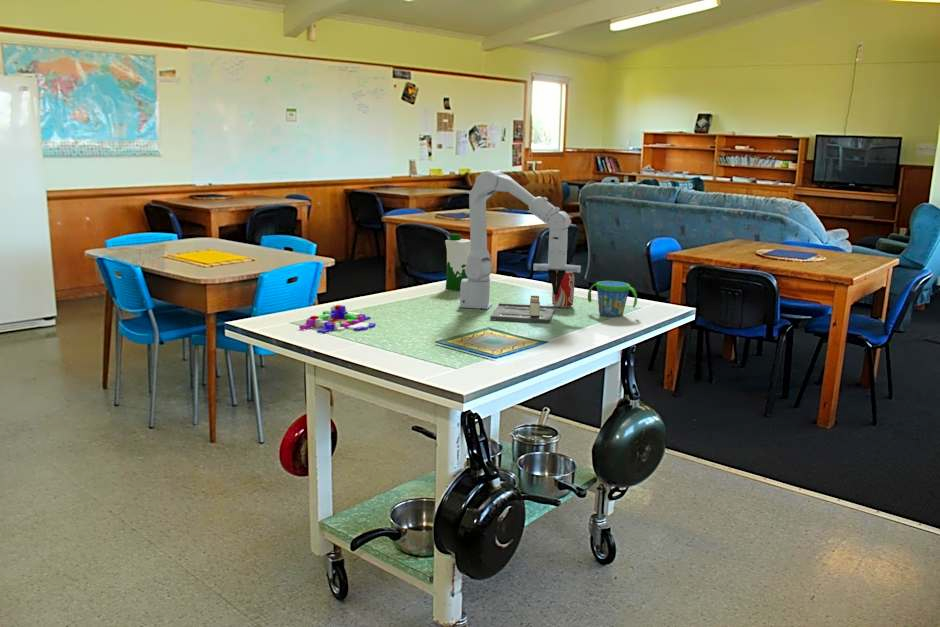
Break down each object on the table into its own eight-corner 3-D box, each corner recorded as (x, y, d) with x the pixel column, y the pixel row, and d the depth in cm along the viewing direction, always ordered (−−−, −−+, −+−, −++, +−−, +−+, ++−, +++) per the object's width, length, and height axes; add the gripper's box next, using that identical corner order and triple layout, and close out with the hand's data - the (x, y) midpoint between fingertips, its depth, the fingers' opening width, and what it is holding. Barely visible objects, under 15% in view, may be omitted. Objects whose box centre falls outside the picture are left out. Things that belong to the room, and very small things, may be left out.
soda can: (566, 309, 259) (568, 273, 257) (547, 306, 263) (549, 270, 261) (577, 306, 265) (578, 270, 262) (558, 303, 269) (560, 268, 266)
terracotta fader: (529, 309, 250) (530, 296, 249) (531, 306, 254) (531, 294, 253) (537, 309, 249) (538, 297, 248) (538, 307, 253) (539, 294, 252)
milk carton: (455, 286, 297) (456, 232, 293) (475, 289, 292) (477, 234, 288) (441, 289, 290) (442, 234, 285) (462, 292, 285) (463, 236, 281)
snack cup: (640, 315, 253) (642, 284, 251) (628, 321, 244) (630, 288, 242) (595, 309, 261) (597, 278, 259) (581, 314, 252) (583, 282, 250)
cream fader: (530, 315, 241) (530, 302, 240) (531, 312, 245) (531, 299, 244) (538, 315, 240) (538, 302, 240) (539, 313, 244) (540, 300, 243)
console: (490, 319, 241) (490, 314, 241) (498, 308, 259) (498, 302, 258) (549, 323, 238) (550, 317, 238) (554, 311, 256) (554, 306, 255)
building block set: (345, 338, 217) (345, 322, 216) (286, 329, 226) (285, 313, 225) (395, 321, 238) (395, 307, 237) (339, 313, 248) (339, 299, 247)
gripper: (533, 251, 244) (531, 295, 247) (580, 253, 241) (578, 297, 244) (535, 248, 251) (533, 291, 253) (581, 250, 248) (579, 293, 251)
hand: (555, 294), depth 249 cm, fingers closed
